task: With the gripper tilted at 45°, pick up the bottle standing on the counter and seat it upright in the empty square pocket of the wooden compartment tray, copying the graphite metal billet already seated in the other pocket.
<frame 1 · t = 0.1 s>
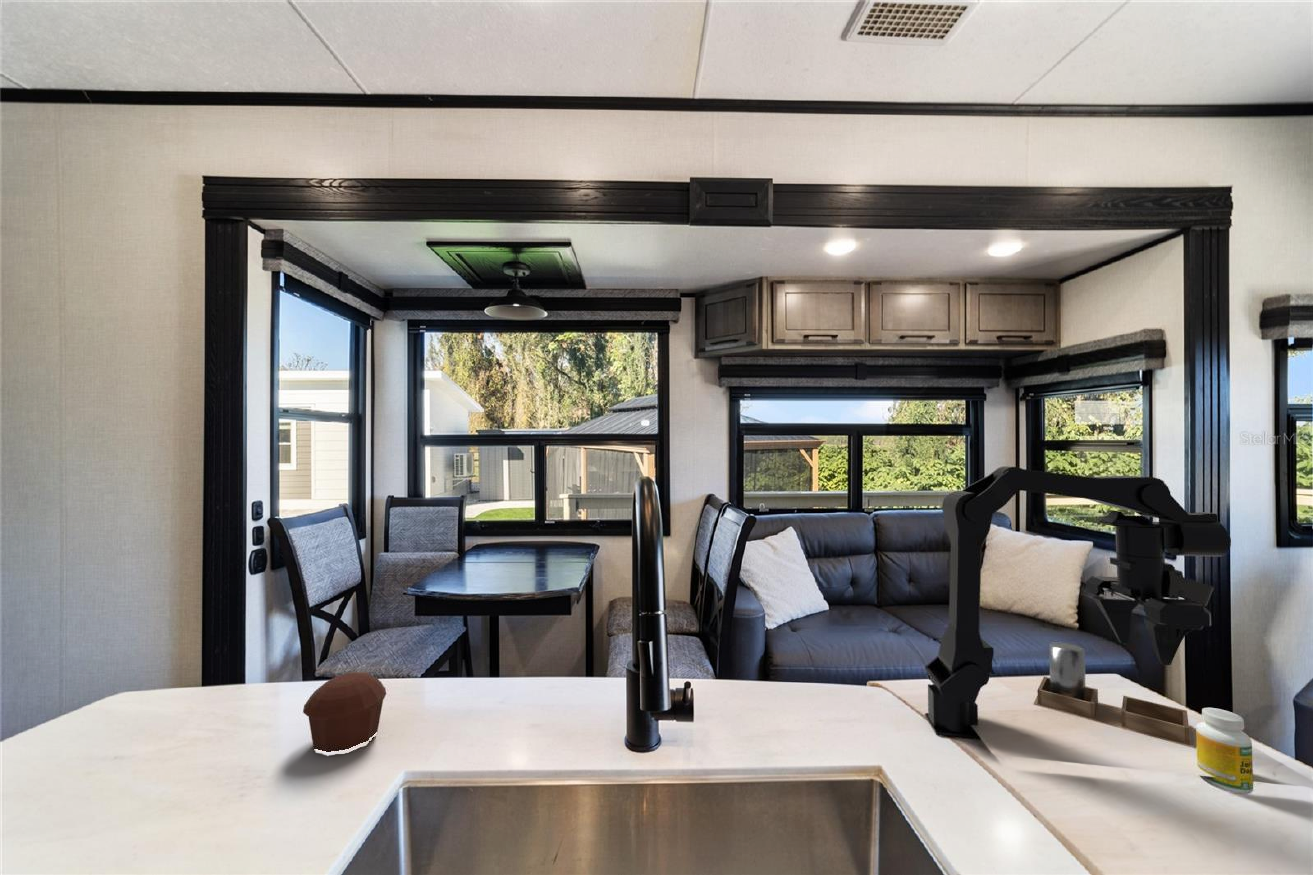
hand: (1143, 653, 83), 15 cm above the worktop, fingers open, 9 cm apart
supplement bottle: (1224, 784, 73), on the worktop
muffin: (345, 742, 84), on the worktop
wooden compartment tray: (1109, 723, 90), on the worktop
graphite billet: (1067, 703, 93), point 1 cm above the worktop, touching wooden compartment tray
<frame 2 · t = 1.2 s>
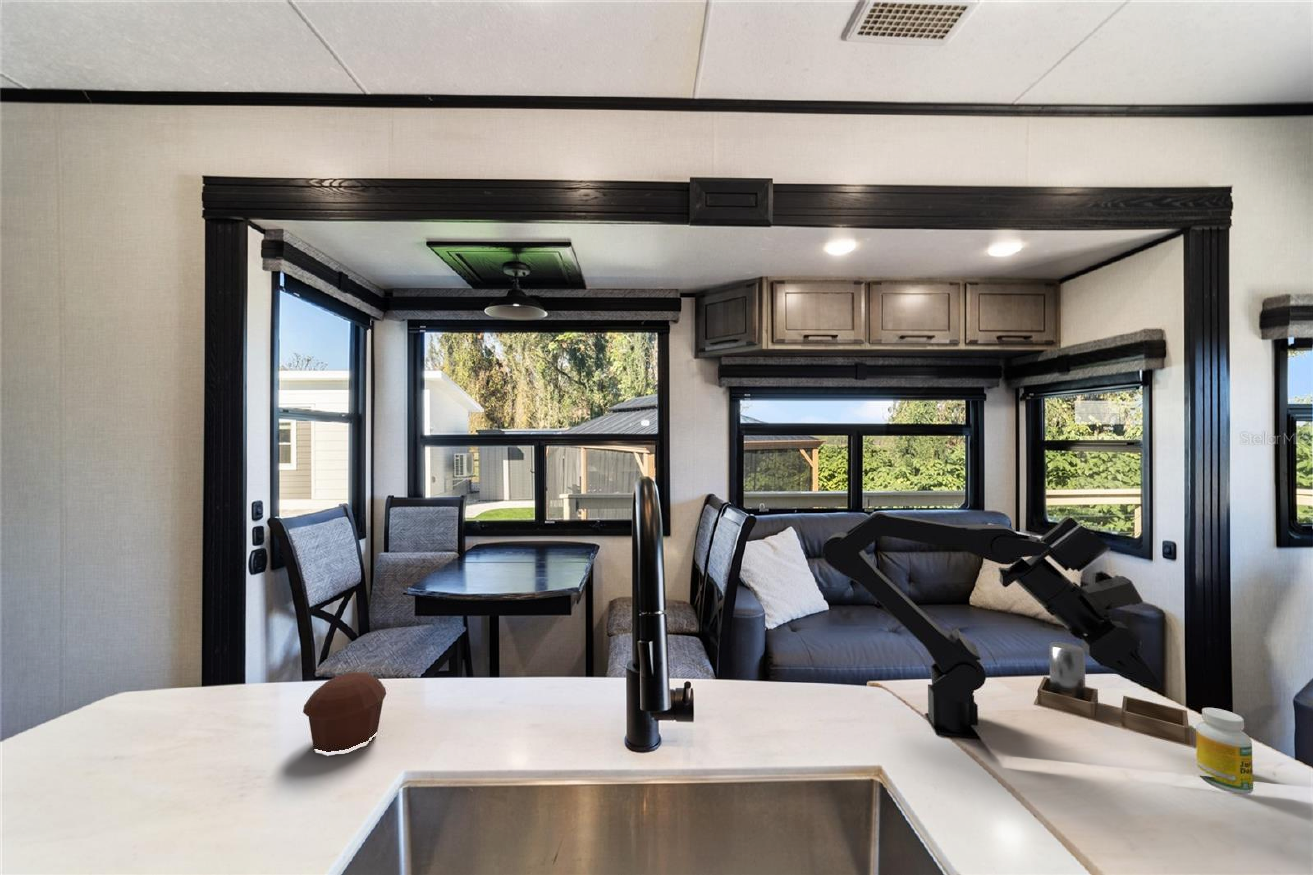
hand: (1145, 674, 77), 14 cm above the worktop, fingers open, 9 cm apart
nothing on the worktop moved.
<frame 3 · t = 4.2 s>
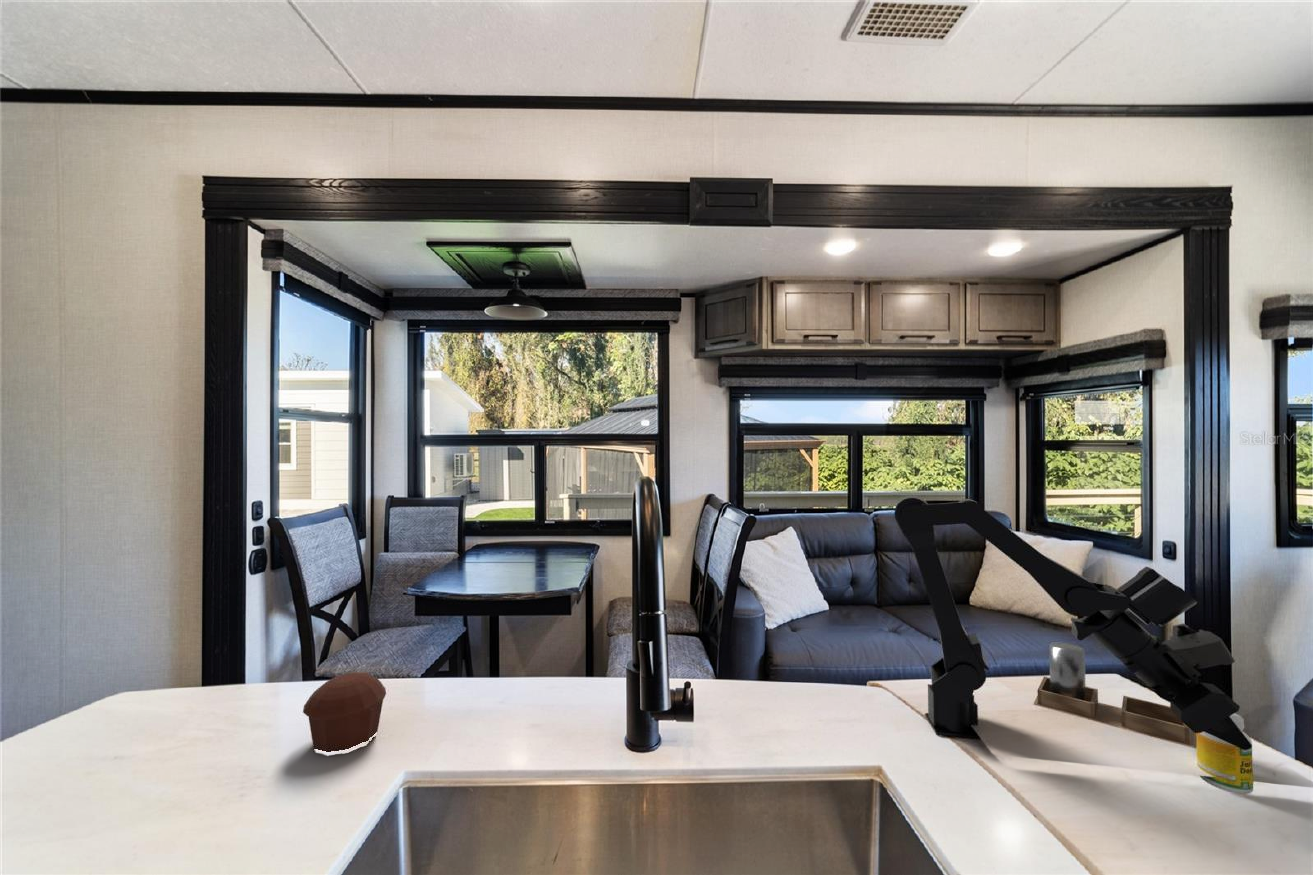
hand: (1237, 737, 73), 7 cm above the worktop, fingers closed on supplement bottle, 5 cm apart
supplement bottle: (1224, 784, 73), on the worktop, touching gripper
everything else where it was.
when the fingers open (9 cm above the worktop, at t = 8.6 s): supplement bottle stays where it is, resting on wooden compartment tray.
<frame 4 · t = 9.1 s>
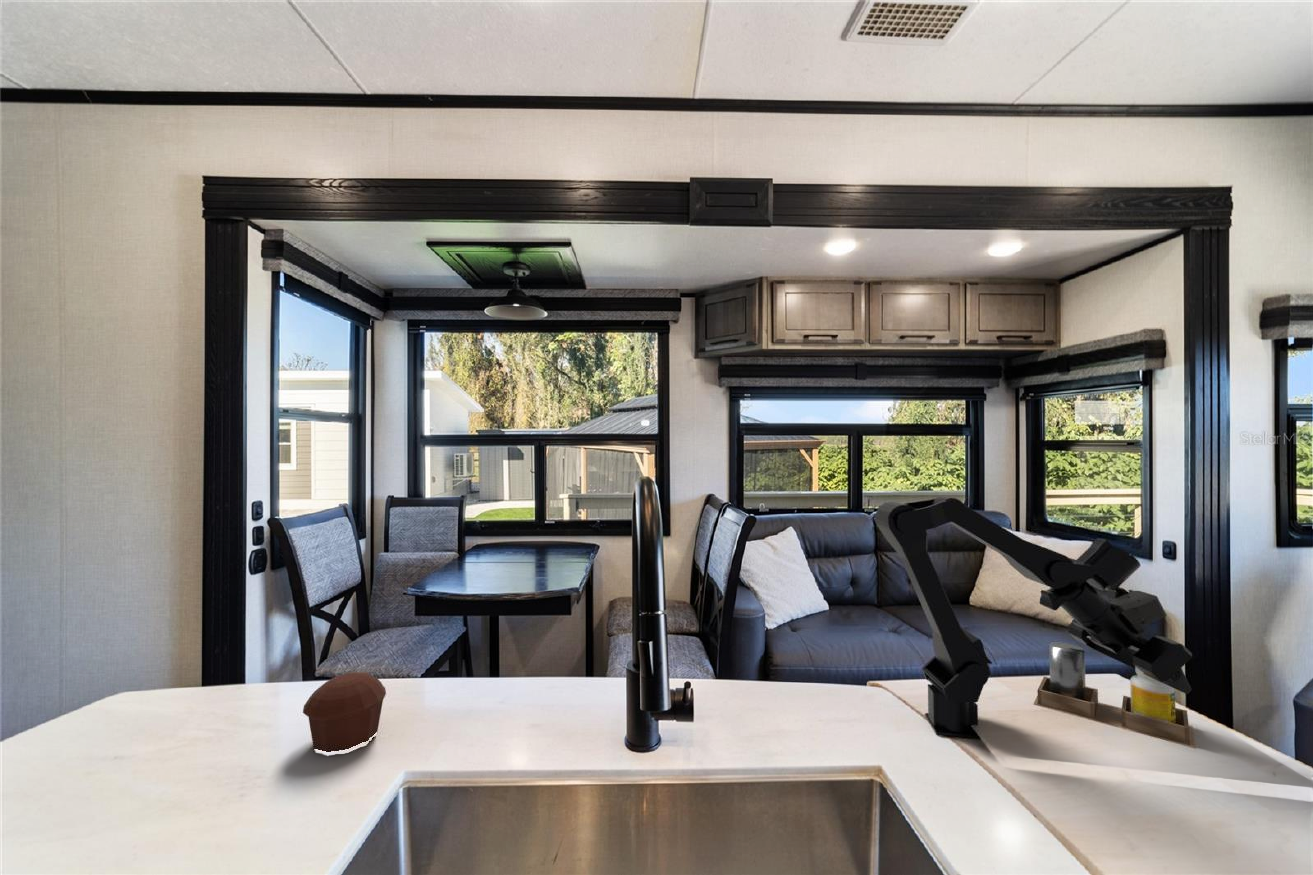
hand: (1162, 678, 86), 9 cm above the worktop, fingers open, 9 cm apart
supplement bottle: (1153, 727, 86), point 1 cm above the worktop, touching wooden compartment tray
everything else where it was.
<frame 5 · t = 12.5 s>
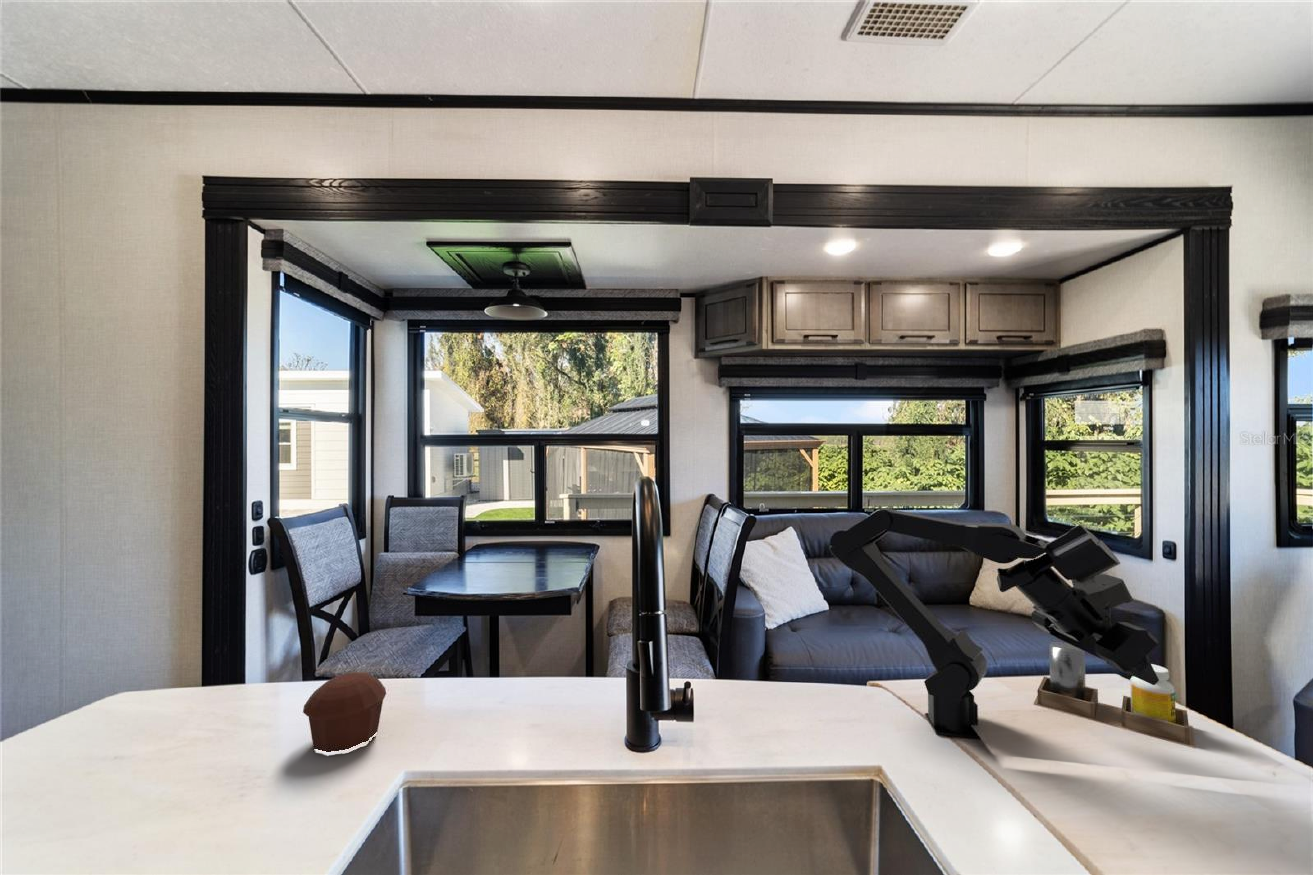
hand: (1129, 669, 79), 14 cm above the worktop, fingers open, 9 cm apart
nothing on the worktop moved.
at the end: supplement bottle 0.2 cm from the target spot, point 1.3 cm above the worktop; supplement bottle tilted 0°; the gripper is holding nothing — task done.
